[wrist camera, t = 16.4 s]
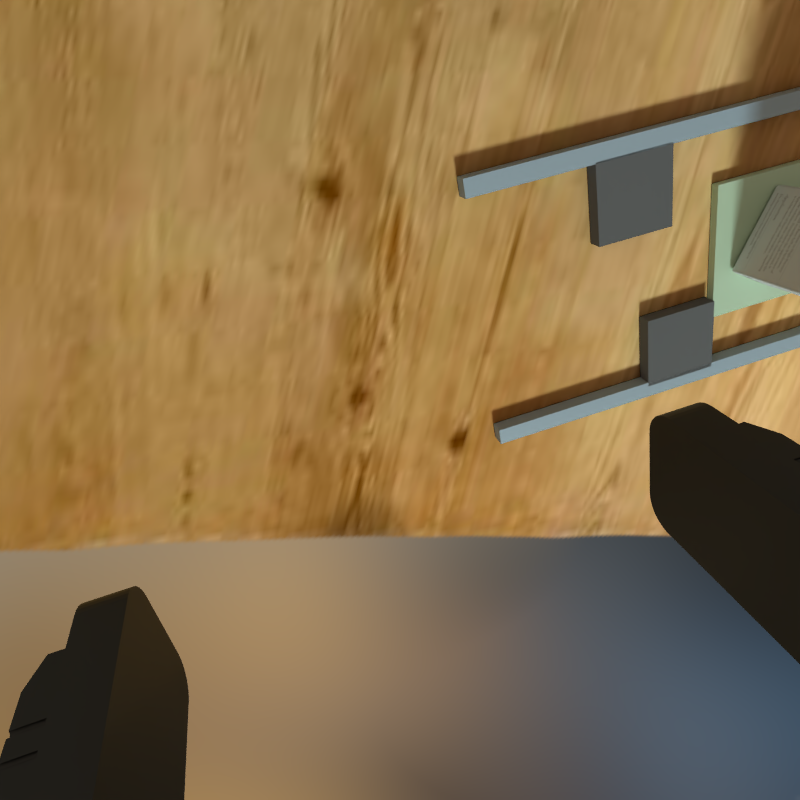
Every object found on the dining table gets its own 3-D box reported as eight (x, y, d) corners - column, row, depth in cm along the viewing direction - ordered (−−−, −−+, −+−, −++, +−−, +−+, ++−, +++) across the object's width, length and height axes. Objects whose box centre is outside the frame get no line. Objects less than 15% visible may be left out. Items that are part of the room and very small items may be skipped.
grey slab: (640, 380, 45) (648, 386, 44) (639, 316, 43) (648, 321, 42) (701, 360, 46) (711, 366, 45) (704, 296, 43) (714, 301, 43)
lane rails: (495, 436, 44) (501, 443, 43) (456, 176, 36) (462, 178, 35) (822, 331, 48) (833, 336, 47) (859, 71, 39) (874, 70, 38)
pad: (706, 314, 44) (712, 317, 44) (711, 183, 40) (718, 185, 39) (817, 280, 45) (824, 282, 45) (834, 149, 41) (842, 150, 40)
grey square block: (591, 243, 40) (599, 246, 39) (586, 160, 37) (595, 162, 36) (662, 223, 40) (672, 226, 39) (662, 140, 38) (673, 141, 37)
